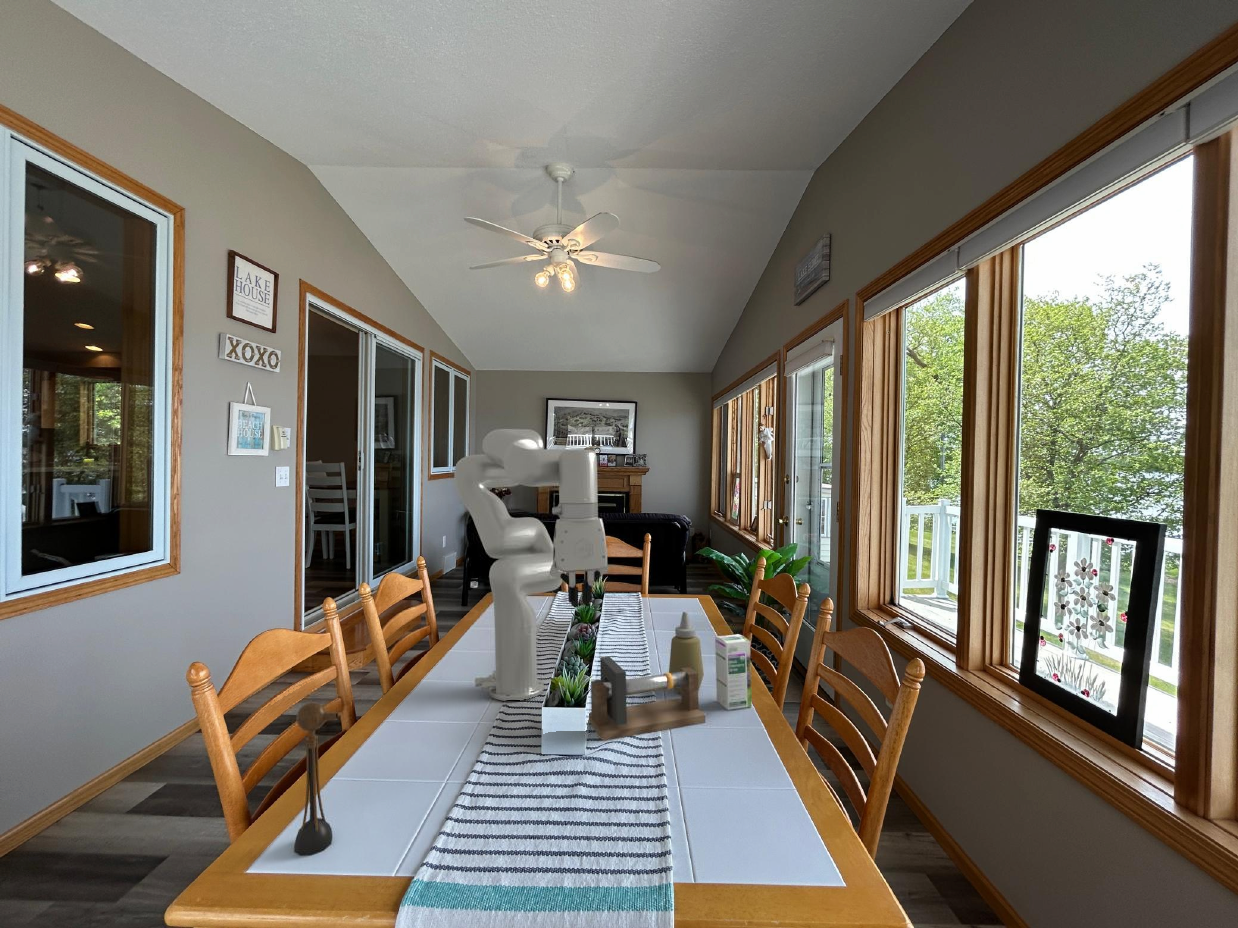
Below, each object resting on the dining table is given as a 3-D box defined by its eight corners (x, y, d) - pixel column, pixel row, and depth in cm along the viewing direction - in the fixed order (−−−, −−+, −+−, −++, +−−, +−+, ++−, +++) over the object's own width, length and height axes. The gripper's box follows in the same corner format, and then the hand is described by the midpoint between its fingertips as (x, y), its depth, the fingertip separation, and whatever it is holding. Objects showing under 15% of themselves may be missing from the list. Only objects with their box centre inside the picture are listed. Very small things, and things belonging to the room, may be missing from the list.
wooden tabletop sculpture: (345, 833, 87) (343, 695, 87) (331, 854, 82) (328, 708, 82) (304, 834, 86) (301, 696, 86) (287, 855, 82) (284, 709, 82)
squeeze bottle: (663, 693, 137) (662, 614, 137) (676, 681, 144) (675, 606, 144) (696, 699, 133) (695, 618, 133) (708, 686, 140) (707, 610, 140)
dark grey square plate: (616, 725, 115) (616, 673, 115) (601, 705, 124) (600, 657, 124) (626, 723, 116) (625, 671, 116) (610, 704, 125) (609, 656, 125)
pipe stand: (602, 740, 114) (601, 693, 114) (587, 719, 123) (586, 675, 123) (705, 722, 121) (704, 677, 121) (684, 703, 131) (683, 662, 131)
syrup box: (727, 710, 127) (726, 642, 127) (715, 700, 132) (714, 634, 132) (751, 707, 128) (750, 639, 128) (739, 697, 134) (738, 632, 134)
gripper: (543, 515, 112) (545, 613, 112) (622, 511, 117) (624, 605, 117) (535, 512, 119) (536, 605, 119) (610, 509, 124) (612, 597, 124)
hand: (580, 604), depth 118 cm, fingers closed
